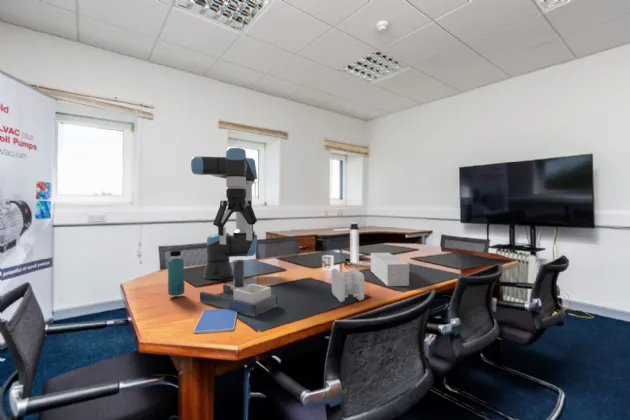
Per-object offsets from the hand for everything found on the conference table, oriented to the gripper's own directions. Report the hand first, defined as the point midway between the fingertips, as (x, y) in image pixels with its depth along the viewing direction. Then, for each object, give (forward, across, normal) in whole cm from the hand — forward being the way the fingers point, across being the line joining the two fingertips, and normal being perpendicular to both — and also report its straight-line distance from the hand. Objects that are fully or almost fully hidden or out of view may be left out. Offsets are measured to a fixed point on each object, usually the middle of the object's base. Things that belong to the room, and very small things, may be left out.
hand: (236, 242), depth 120 cm
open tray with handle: (+23, -1, +6) cm, 24 cm away
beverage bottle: (+25, +8, -29) cm, 39 cm away
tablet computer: (+26, +15, +6) cm, 30 cm away
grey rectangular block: (+25, -74, +35) cm, 86 cm away
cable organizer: (+25, -32, +32) cm, 52 cm away
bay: (+25, 0, 0) cm, 25 cm away
